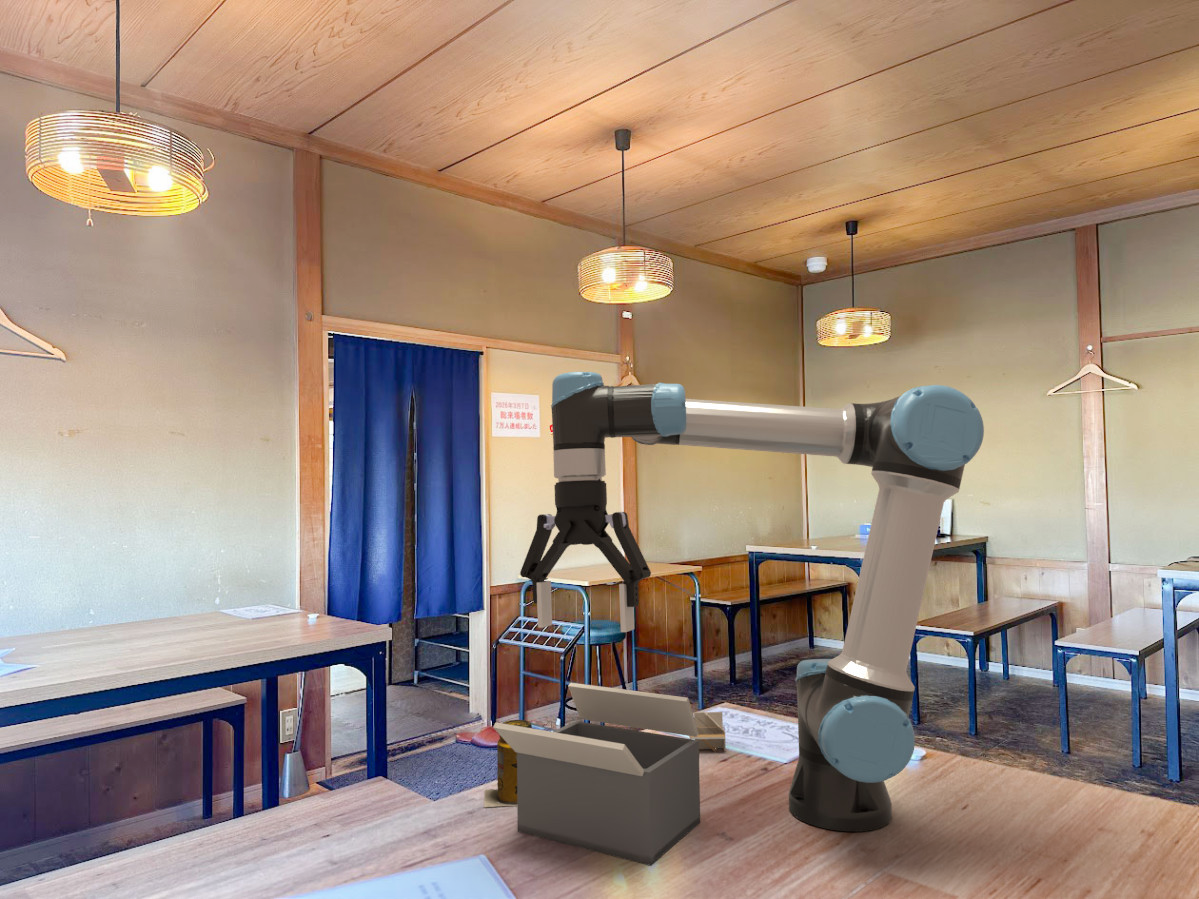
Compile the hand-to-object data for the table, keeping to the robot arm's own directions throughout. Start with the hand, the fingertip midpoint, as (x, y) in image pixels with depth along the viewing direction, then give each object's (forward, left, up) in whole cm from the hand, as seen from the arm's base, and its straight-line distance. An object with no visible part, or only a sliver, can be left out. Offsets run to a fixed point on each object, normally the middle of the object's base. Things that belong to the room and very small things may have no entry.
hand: (585, 628), depth 112 cm
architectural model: (+2, -47, -31) cm, 56 cm away
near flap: (0, +4, -15) cm, 16 cm away
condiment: (+20, -9, -30) cm, 38 cm away
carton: (0, -7, -30) cm, 31 cm away
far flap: (0, -14, -15) cm, 20 cm away
